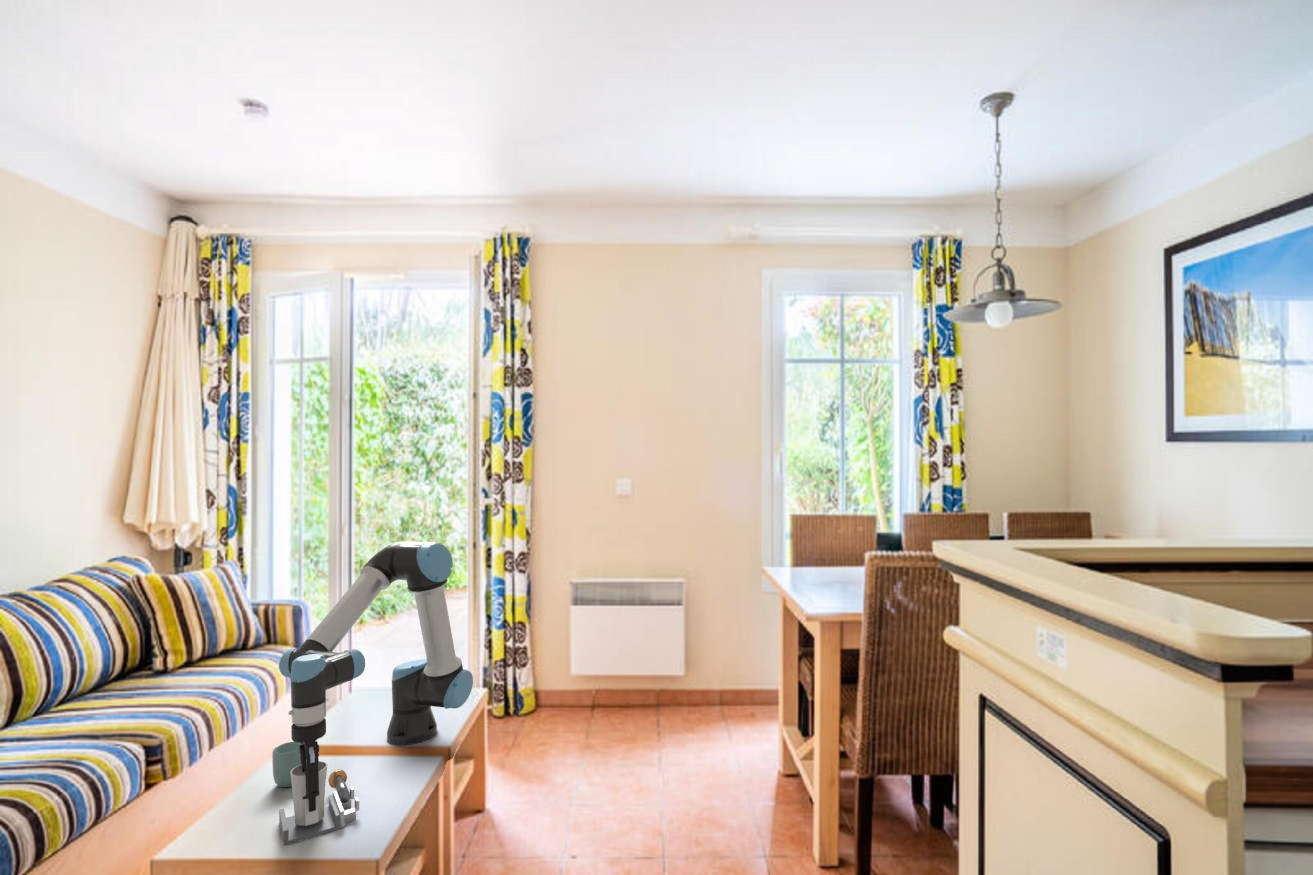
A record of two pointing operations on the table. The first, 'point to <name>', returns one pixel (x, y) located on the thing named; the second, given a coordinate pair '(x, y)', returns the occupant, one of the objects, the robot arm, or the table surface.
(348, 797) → the lock pin
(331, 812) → the dock
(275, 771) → the cup
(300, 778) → the cup
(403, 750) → the table surface
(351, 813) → the lug rail
